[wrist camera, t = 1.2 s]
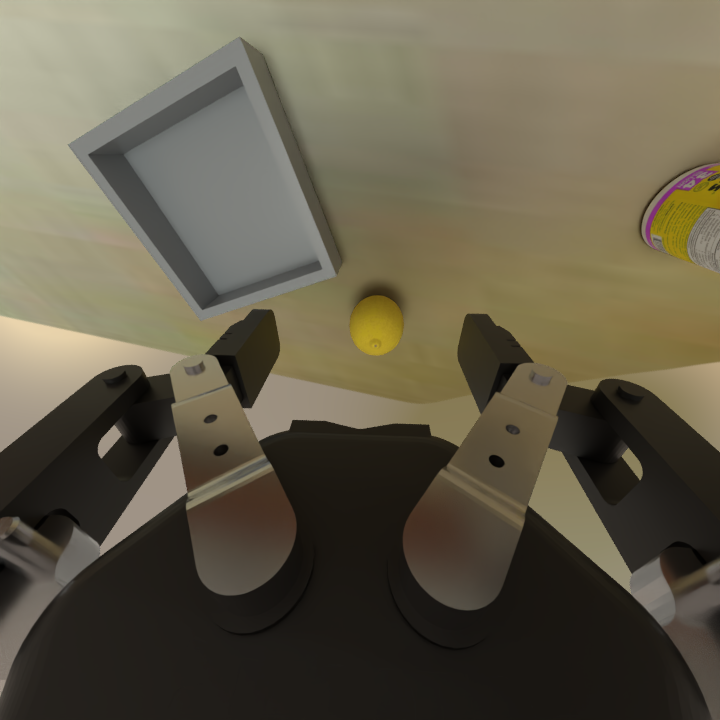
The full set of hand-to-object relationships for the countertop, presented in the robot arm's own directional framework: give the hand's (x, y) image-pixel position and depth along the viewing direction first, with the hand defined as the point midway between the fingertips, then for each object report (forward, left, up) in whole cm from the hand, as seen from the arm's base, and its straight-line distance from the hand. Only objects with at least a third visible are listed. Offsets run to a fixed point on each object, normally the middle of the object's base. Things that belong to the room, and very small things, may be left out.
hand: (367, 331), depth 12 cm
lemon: (+3, +8, -19) cm, 21 cm away
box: (+13, -6, -19) cm, 24 cm away
